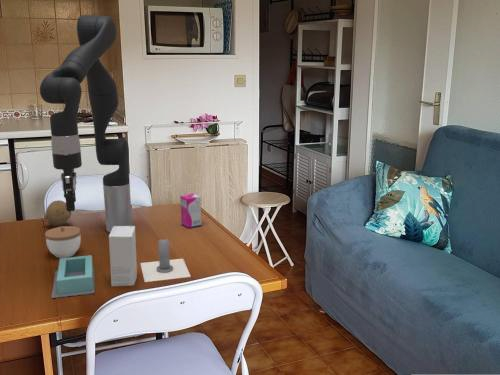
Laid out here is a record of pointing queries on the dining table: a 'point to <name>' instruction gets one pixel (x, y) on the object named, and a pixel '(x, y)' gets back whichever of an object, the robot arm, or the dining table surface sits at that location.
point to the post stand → (164, 266)
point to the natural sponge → (57, 213)
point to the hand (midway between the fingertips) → (71, 206)
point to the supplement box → (191, 210)
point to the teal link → (75, 282)
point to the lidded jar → (63, 241)
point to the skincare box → (123, 255)
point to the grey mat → (55, 293)
